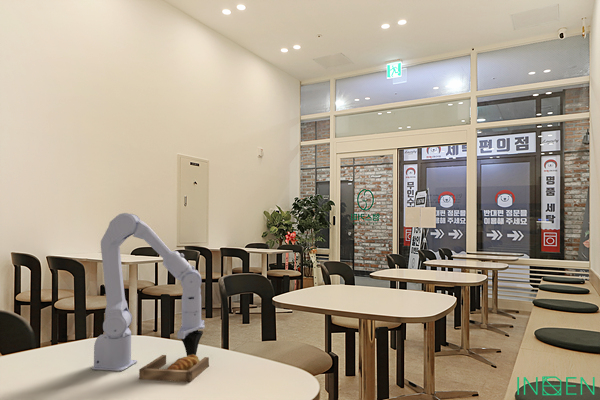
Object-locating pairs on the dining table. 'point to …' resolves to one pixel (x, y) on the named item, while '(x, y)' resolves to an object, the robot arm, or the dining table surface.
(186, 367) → the pastry
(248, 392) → the dining table surface
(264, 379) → the dining table surface
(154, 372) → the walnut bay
